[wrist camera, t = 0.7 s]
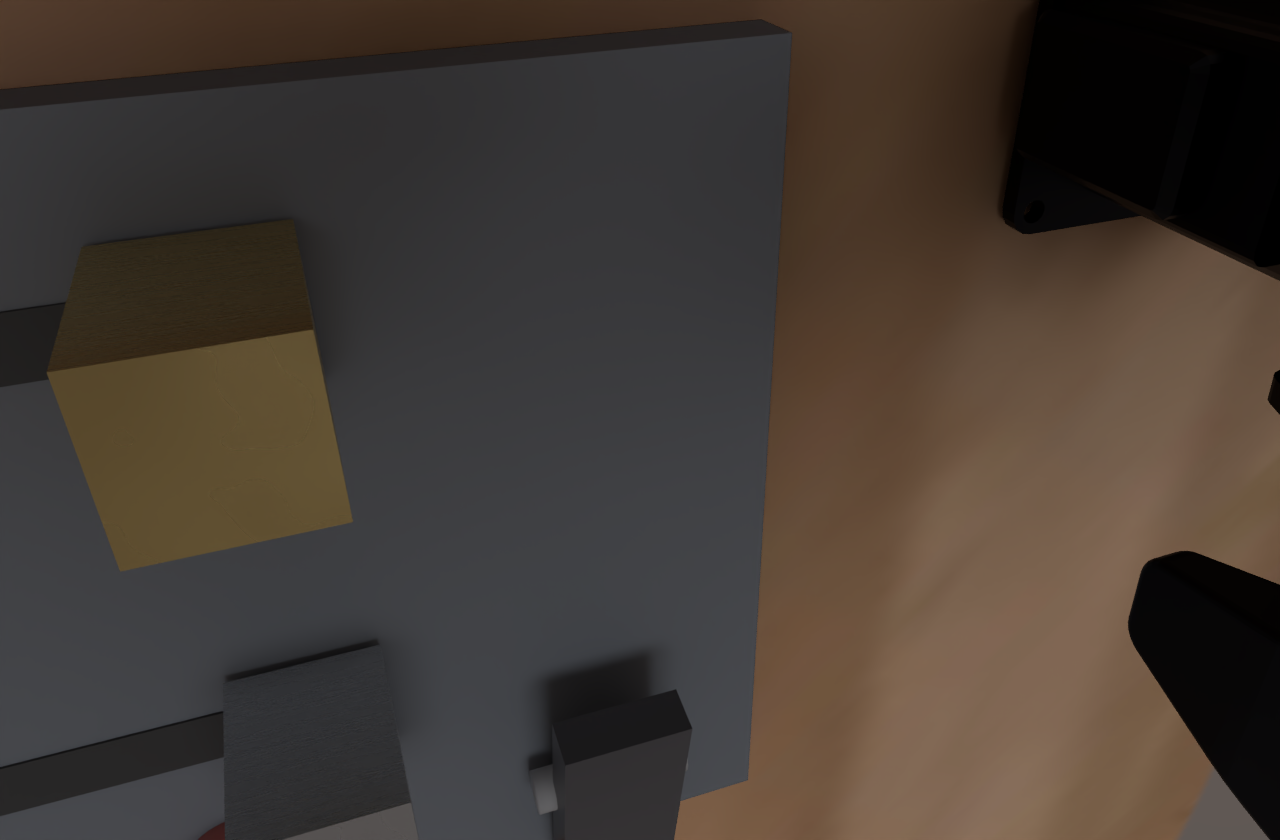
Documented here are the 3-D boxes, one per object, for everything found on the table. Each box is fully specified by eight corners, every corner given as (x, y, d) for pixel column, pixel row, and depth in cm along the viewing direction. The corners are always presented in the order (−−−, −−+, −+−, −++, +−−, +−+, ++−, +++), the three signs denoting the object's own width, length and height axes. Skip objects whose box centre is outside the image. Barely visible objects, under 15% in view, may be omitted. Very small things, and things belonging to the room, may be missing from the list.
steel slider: (380, 644, 21) (411, 802, 18) (401, 745, 22) (432, 908, 19) (222, 683, 20) (225, 856, 17) (256, 785, 22) (264, 961, 18)
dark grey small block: (682, 662, 23) (709, 723, 22) (664, 790, 27) (686, 847, 26) (526, 704, 22) (546, 771, 21) (531, 831, 26) (548, 892, 25)
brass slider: (293, 218, 16) (313, 330, 13) (327, 387, 18) (352, 522, 14) (81, 246, 15) (46, 372, 12) (137, 420, 17) (119, 571, 14)
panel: (761, 19, 18) (834, 52, 16) (729, 746, 28) (772, 825, 26) (-698, 153, 13) (-880, 230, 11) (-97, 993, 23) (-129, 1119, 21)
